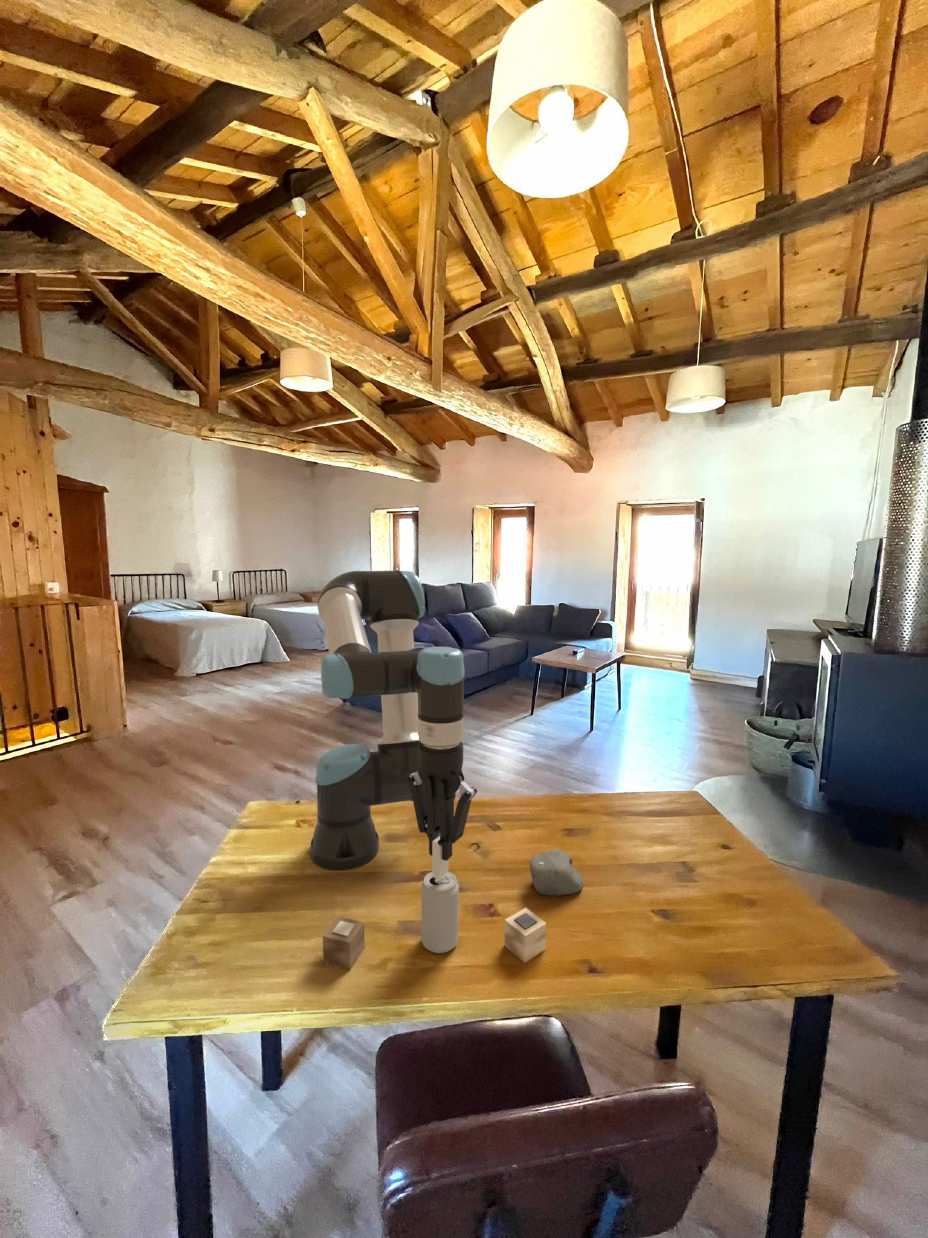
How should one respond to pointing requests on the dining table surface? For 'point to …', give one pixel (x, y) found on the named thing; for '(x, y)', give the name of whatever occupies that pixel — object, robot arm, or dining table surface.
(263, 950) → the dining table surface
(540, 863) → the stone
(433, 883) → the beverage can
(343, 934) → the walnut block
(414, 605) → the robot arm
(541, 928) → the beech block
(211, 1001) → the dining table surface
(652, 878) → the dining table surface
